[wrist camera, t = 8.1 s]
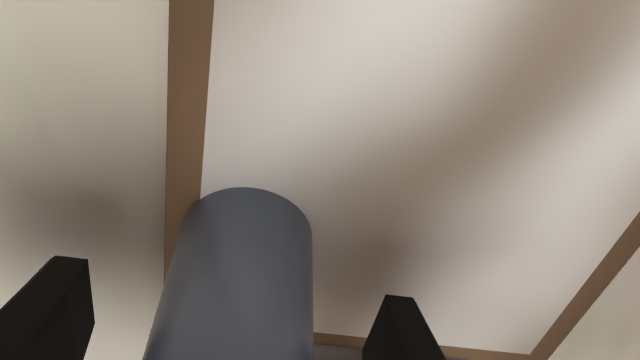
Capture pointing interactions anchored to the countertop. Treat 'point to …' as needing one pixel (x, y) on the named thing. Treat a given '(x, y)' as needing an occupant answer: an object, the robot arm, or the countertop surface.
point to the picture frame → (422, 154)
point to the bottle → (238, 282)
